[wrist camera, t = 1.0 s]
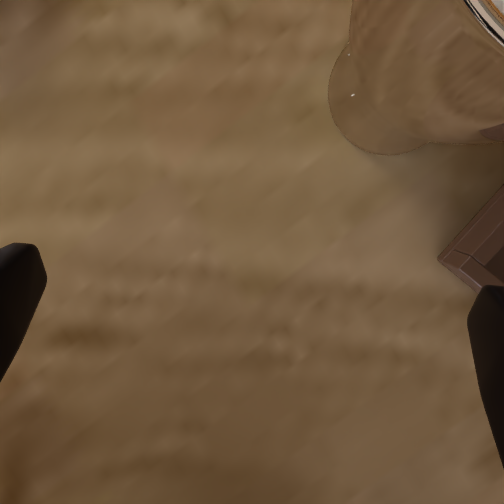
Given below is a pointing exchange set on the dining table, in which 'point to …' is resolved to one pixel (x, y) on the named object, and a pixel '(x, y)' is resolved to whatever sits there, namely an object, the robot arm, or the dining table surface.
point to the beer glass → (420, 75)
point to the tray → (479, 247)
